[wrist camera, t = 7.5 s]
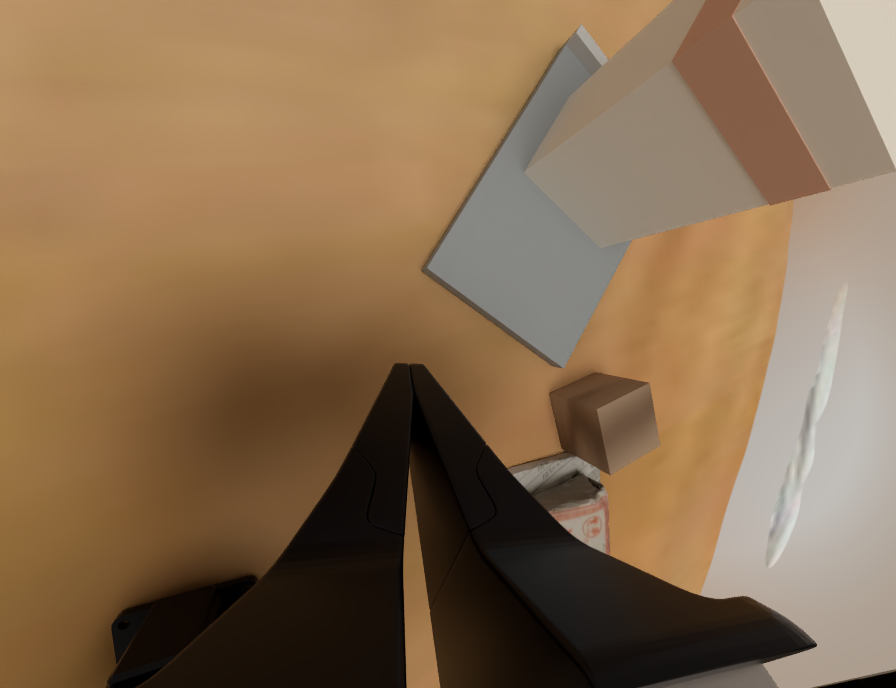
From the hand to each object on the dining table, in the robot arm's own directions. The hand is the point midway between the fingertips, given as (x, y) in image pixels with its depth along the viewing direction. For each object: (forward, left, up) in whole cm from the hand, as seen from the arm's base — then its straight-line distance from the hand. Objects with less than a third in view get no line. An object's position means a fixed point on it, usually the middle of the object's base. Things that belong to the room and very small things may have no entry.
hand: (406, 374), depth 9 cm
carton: (+12, -17, -11) cm, 23 cm away
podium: (+9, -15, -12) cm, 21 cm away
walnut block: (-7, -17, -12) cm, 22 cm away
